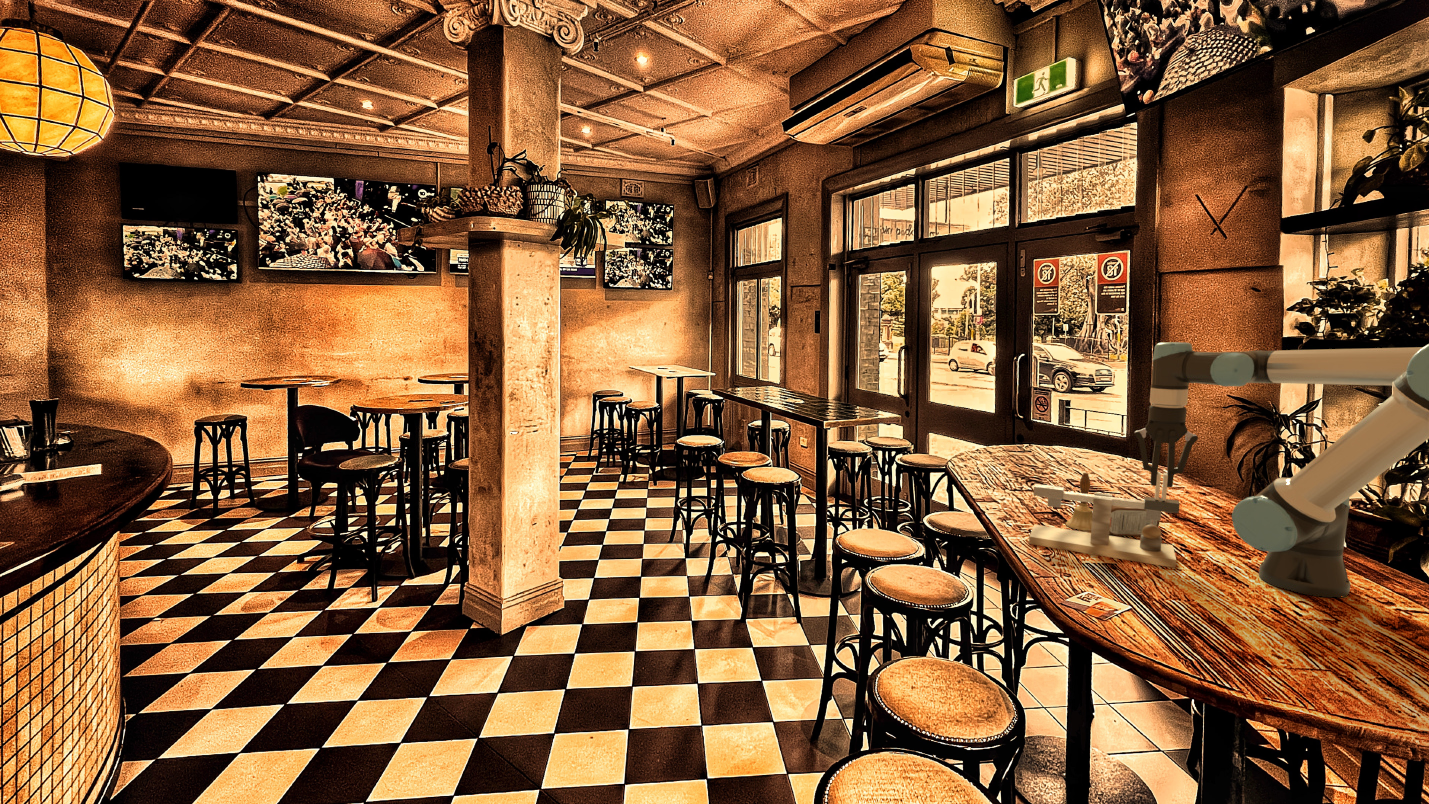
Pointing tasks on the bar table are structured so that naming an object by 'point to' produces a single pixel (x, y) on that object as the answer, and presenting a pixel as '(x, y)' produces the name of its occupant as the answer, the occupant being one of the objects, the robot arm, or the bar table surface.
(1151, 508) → the lever
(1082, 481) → the hand bell
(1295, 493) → the robot arm
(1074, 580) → the bar table surface
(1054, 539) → the press base
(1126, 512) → the tin
